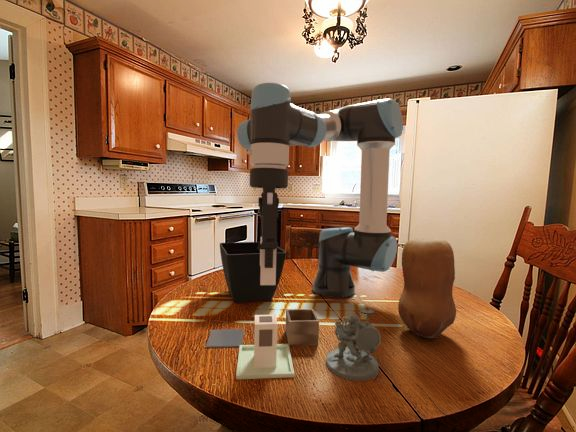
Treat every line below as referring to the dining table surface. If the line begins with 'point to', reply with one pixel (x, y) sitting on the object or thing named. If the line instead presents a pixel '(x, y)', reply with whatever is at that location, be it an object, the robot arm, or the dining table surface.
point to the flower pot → (247, 271)
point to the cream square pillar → (265, 341)
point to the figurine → (355, 349)
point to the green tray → (249, 372)
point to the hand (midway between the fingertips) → (266, 274)
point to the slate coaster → (225, 338)
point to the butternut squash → (427, 287)
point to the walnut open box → (302, 327)
